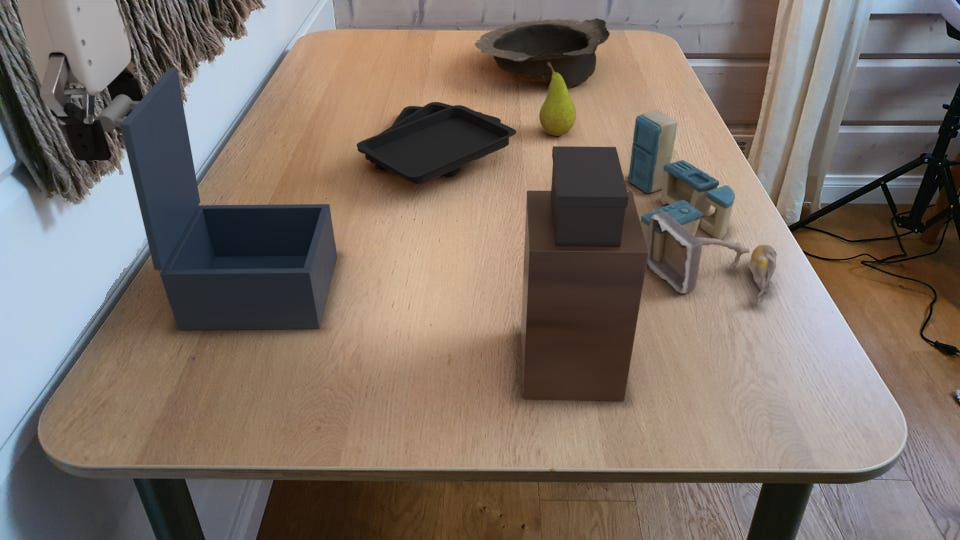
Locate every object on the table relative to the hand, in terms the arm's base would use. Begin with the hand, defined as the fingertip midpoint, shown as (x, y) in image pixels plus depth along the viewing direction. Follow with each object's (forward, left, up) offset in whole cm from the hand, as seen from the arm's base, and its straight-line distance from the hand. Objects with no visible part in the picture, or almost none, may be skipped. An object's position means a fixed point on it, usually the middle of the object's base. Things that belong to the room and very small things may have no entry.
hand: (114, 136), depth 74 cm
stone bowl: (+82, -3, -20) cm, 85 cm away
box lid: (+3, -4, -4) cm, 6 cm away
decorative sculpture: (+38, -53, -20) cm, 68 cm away
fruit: (+61, -18, -20) cm, 67 cm away
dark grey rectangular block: (+15, -45, -2) cm, 48 cm away
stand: (+15, -45, -20) cm, 52 cm away
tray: (+44, -7, -20) cm, 49 cm away
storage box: (+6, -9, -20) cm, 23 cm away
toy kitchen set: (+47, -41, -20) cm, 65 cm away
